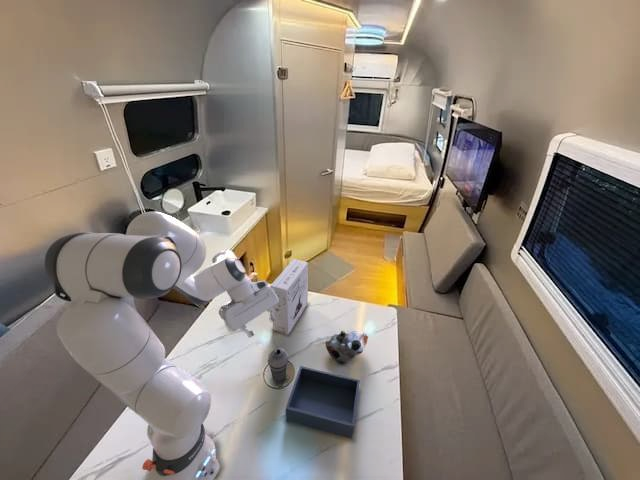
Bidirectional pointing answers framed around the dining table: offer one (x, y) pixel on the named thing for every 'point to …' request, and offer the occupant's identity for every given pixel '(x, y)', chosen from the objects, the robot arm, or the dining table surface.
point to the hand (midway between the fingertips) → (263, 328)
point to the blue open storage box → (324, 401)
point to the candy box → (253, 277)
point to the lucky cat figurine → (346, 345)
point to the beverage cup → (278, 365)
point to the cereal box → (290, 295)
